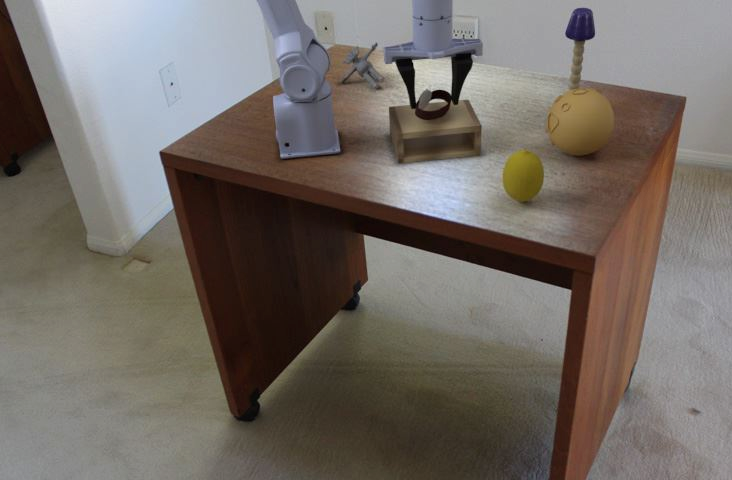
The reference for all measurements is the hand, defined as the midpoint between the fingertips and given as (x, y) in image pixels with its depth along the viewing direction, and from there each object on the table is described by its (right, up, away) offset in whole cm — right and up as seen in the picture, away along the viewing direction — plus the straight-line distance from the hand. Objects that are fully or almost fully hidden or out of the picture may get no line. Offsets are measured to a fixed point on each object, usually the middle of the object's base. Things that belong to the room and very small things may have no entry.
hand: (433, 104), depth 115 cm
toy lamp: (+24, +2, +12) cm, 27 cm away
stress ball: (+22, -8, 0) cm, 23 cm away
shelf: (0, -5, +4) cm, 7 cm away
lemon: (+12, -17, -11) cm, 23 cm away
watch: (0, -1, +1) cm, 2 cm away
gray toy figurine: (-11, +11, +27) cm, 31 cm away
